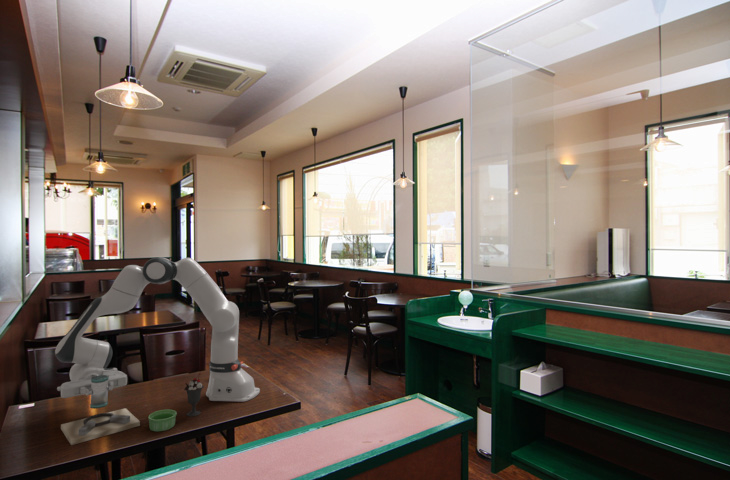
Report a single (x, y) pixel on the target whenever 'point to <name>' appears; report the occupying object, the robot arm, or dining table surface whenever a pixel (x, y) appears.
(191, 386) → the sundae
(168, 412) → the ramekin
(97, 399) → the teal-capped glass jar
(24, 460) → the dining table surface
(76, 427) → the board
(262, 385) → the dining table surface
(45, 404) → the dining table surface
